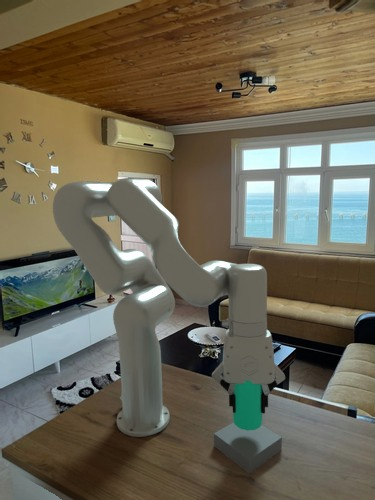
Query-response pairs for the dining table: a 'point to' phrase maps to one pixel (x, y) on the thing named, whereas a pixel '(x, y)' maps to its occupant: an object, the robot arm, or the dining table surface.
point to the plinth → (247, 445)
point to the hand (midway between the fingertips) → (248, 408)
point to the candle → (248, 406)
